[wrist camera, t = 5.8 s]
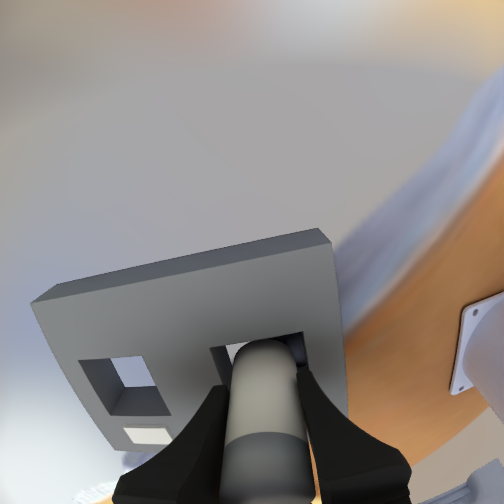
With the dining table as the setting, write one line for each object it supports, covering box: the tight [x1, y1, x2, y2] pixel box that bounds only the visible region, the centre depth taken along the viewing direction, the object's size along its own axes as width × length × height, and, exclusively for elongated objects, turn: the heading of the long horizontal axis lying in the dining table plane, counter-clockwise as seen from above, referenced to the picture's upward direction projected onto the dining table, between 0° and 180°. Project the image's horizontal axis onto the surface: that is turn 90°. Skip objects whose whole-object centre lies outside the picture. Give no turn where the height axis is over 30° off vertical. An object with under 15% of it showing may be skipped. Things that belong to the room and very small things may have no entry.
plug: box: [219, 339, 316, 504], centre depth 11 cm, size 3×3×8 cm
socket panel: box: [30, 228, 348, 453], centre depth 16 cm, size 16×12×3 cm
